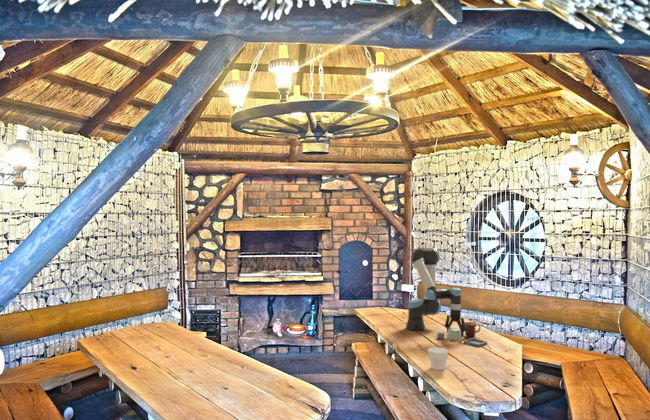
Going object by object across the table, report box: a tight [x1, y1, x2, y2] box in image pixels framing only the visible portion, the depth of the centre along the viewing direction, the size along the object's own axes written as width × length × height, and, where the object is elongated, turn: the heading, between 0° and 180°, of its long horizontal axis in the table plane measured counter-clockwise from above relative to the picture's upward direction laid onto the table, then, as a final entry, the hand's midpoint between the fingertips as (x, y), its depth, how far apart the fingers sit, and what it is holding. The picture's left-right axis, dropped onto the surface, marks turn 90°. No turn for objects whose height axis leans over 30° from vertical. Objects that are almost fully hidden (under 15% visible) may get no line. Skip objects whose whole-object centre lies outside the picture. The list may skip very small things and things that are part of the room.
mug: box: [464, 321, 481, 338], centre depth 397 cm, size 12×9×10 cm
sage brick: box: [449, 329, 461, 341], centre depth 389 cm, size 5×5×7 cm
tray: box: [463, 337, 488, 348], centre depth 377 cm, size 12×12×2 cm
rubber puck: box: [436, 331, 445, 340], centre depth 390 cm, size 5×5×4 cm
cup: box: [428, 346, 449, 371], centre depth 322 cm, size 12×12×11 cm
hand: (455, 338), depth 389 cm, fingers open, 10 cm apart
